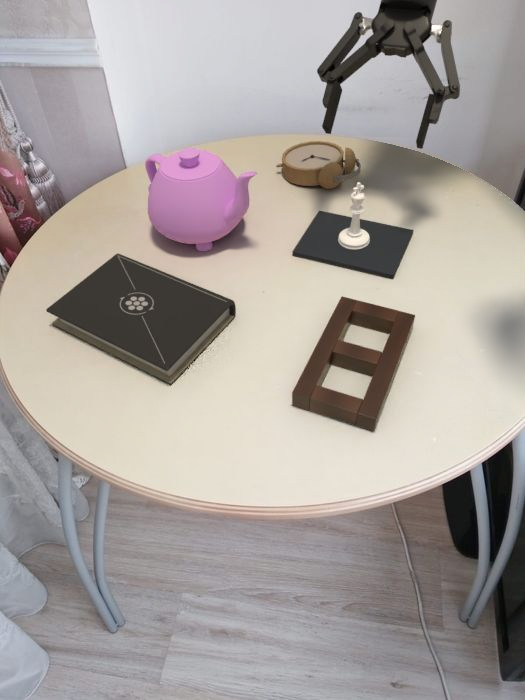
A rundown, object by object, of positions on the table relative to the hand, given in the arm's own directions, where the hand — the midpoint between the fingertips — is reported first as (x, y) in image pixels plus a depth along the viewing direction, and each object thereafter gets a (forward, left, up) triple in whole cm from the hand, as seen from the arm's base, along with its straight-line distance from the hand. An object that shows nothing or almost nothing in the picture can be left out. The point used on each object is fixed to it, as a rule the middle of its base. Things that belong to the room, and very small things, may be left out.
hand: (371, 137), depth 80 cm
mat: (0, +4, -16) cm, 16 cm away
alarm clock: (+12, -14, -16) cm, 24 cm away
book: (+22, +31, -16) cm, 41 cm away
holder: (-8, +28, -16) cm, 33 cm away
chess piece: (0, +4, -15) cm, 16 cm away
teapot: (+24, +9, -16) cm, 30 cm away
